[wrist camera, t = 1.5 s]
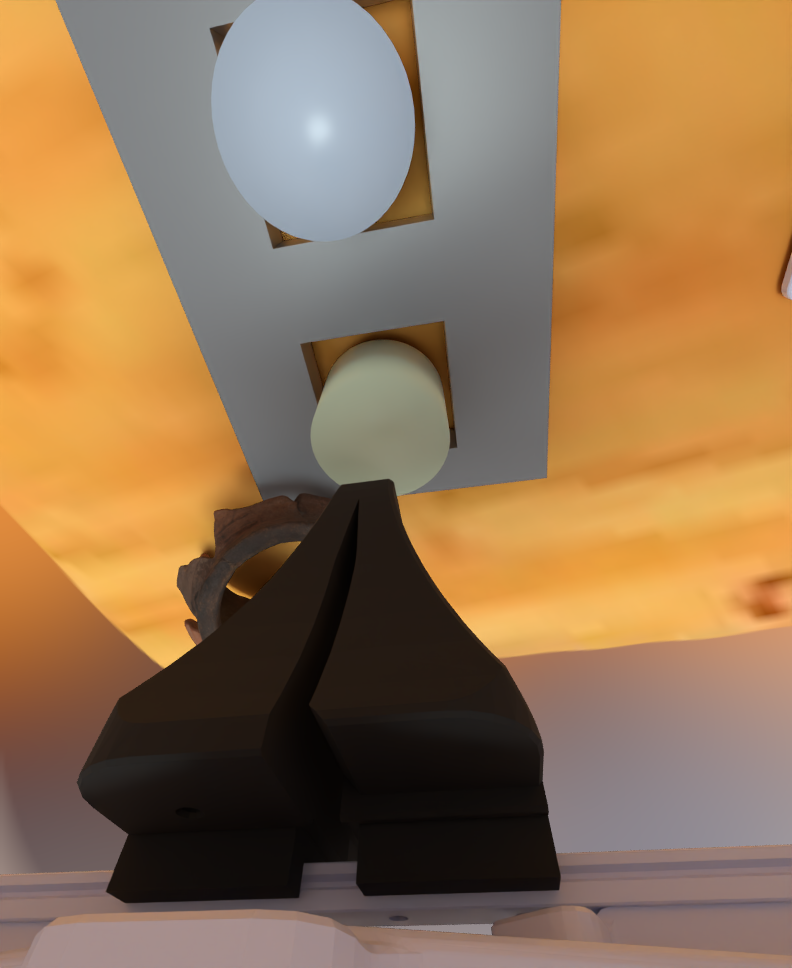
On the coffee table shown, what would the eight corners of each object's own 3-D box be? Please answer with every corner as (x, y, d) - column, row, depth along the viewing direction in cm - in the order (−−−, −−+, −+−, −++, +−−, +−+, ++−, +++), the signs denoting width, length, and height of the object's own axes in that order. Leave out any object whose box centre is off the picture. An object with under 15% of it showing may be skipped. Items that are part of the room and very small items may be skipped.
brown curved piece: (152, 514, 23) (112, 579, 16) (324, 434, 25) (364, 457, 18) (263, 691, 27) (274, 813, 19) (405, 610, 29) (466, 692, 21)
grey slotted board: (565, -1143, 6) (604, -1462, 5) (538, 458, 20) (546, 477, 19) (-216, -767, 7) (-338, -946, 6) (275, 490, 22) (267, 511, 21)
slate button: (399, 1, 11) (397, -42, 9) (422, 209, 14) (426, 224, 11) (227, 42, 12) (175, 13, 9) (279, 235, 14) (252, 256, 12)
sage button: (436, 329, 16) (442, 366, 13) (448, 440, 18) (456, 489, 16) (311, 349, 16) (293, 388, 14) (340, 455, 19) (329, 504, 16)
